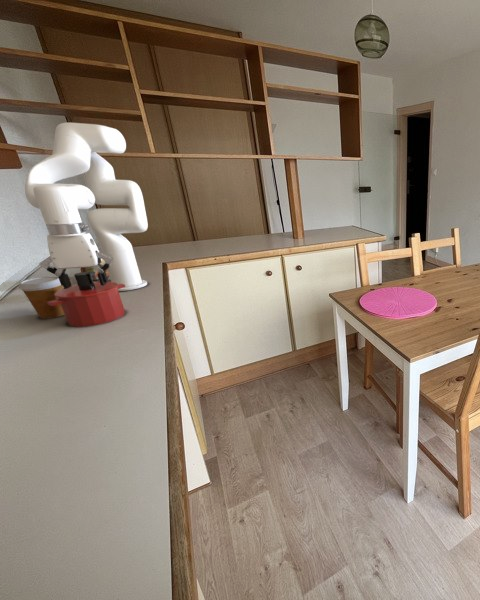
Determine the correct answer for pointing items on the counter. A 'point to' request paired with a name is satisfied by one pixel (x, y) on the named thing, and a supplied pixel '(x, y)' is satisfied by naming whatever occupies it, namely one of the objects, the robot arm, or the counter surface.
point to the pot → (92, 308)
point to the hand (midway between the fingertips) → (86, 285)
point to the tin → (94, 271)
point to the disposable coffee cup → (43, 295)
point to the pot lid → (85, 287)
